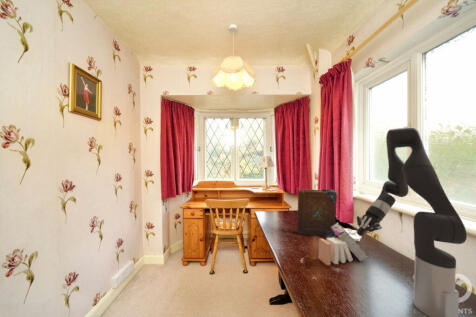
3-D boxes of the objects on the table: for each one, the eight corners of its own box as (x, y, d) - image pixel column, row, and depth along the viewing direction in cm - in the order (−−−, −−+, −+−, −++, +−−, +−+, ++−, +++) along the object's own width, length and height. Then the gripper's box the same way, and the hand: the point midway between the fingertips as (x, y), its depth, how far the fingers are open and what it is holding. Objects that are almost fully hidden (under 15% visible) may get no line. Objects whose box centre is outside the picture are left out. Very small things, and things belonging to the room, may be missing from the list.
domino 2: (338, 263, 85) (339, 243, 85) (334, 264, 85) (335, 243, 85) (329, 256, 91) (329, 237, 91) (325, 257, 91) (326, 238, 91)
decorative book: (330, 232, 122) (331, 189, 122) (335, 237, 115) (337, 191, 115) (296, 230, 124) (297, 188, 123) (298, 235, 116) (300, 189, 116)
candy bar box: (350, 250, 98) (330, 227, 100) (358, 245, 97) (337, 222, 99) (360, 262, 87) (337, 235, 89) (369, 256, 86) (345, 229, 88)
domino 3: (353, 259, 87) (346, 242, 86) (350, 262, 87) (343, 245, 86) (343, 253, 93) (336, 237, 92) (340, 255, 93) (333, 239, 92)
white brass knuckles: (333, 238, 114) (329, 230, 128) (366, 243, 108) (358, 234, 122) (333, 233, 114) (329, 225, 128) (366, 238, 108) (358, 229, 122)
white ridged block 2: (345, 261, 86) (342, 242, 86) (342, 263, 86) (339, 243, 85) (336, 255, 92) (333, 237, 92) (333, 256, 92) (329, 238, 91)
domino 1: (330, 264, 84) (331, 244, 84) (326, 265, 84) (327, 244, 84) (321, 257, 90) (322, 238, 90) (318, 258, 90) (319, 238, 89)
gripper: (362, 202, 100) (344, 225, 97) (387, 209, 87) (366, 235, 85) (369, 211, 102) (351, 233, 99) (395, 219, 89) (375, 245, 86)
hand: (358, 234), depth 92 cm, fingers closed
